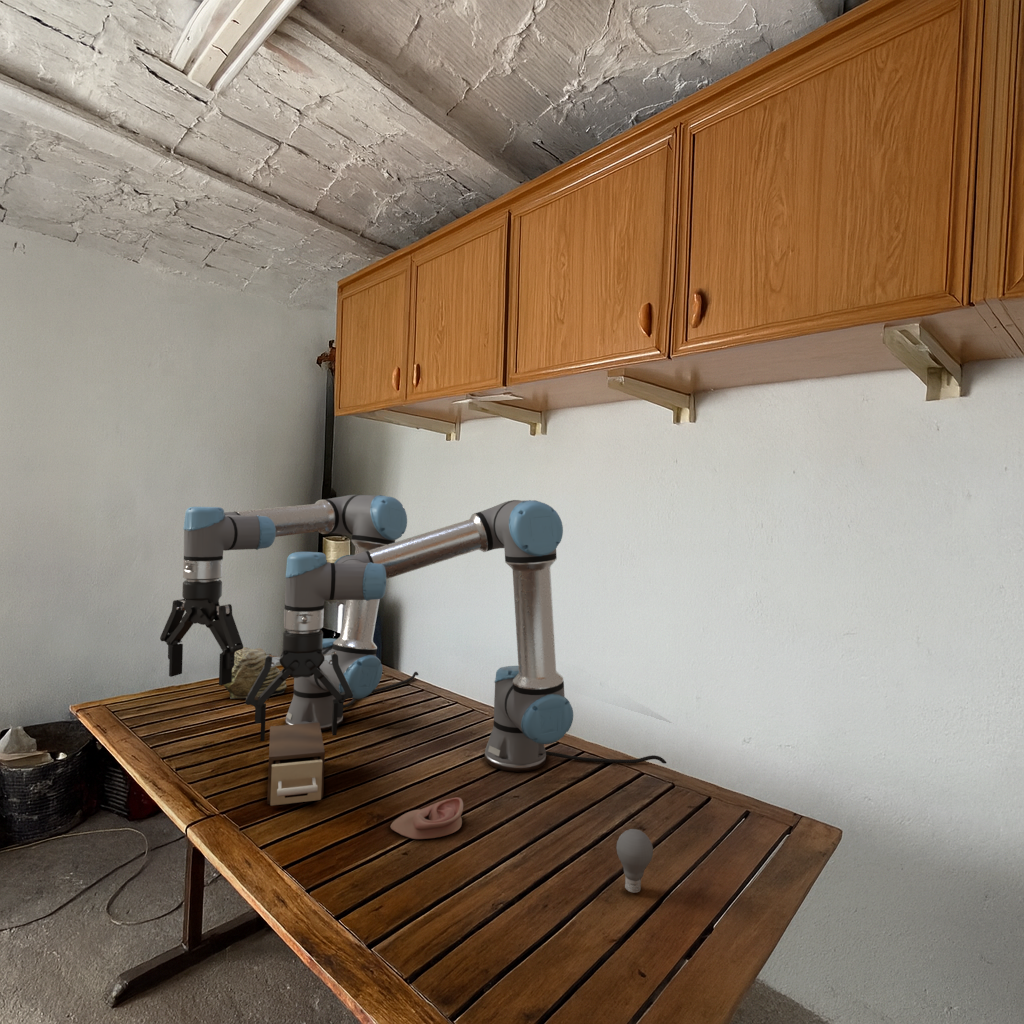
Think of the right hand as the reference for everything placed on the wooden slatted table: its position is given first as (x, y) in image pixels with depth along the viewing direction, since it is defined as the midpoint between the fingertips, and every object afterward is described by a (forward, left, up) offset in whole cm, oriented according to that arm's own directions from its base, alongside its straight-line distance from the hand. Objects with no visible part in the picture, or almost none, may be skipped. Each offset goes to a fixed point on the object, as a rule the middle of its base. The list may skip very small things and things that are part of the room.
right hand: (298, 736), depth 126 cm
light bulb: (-53, +41, -15) cm, 69 cm away
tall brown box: (0, -14, -15) cm, 21 cm away
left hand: (+20, -16, +8) cm, 27 cm away
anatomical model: (-24, +12, -15) cm, 31 cm away
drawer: (0, -8, -15) cm, 17 cm away
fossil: (+11, -80, -15) cm, 82 cm away
